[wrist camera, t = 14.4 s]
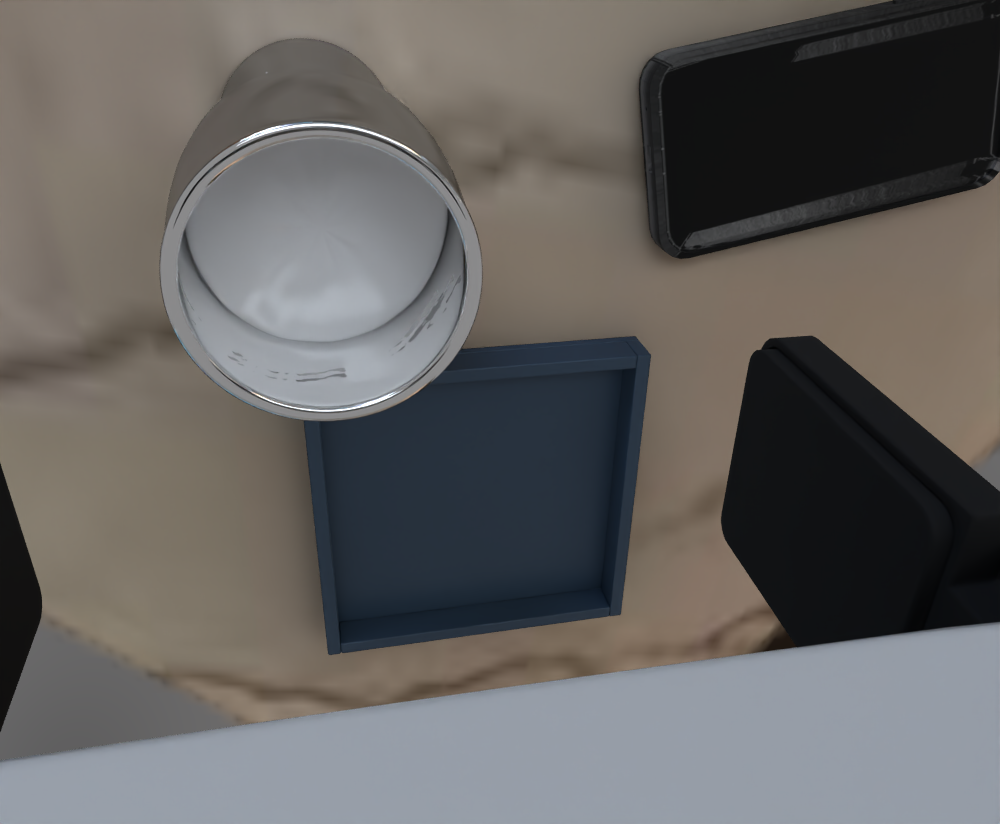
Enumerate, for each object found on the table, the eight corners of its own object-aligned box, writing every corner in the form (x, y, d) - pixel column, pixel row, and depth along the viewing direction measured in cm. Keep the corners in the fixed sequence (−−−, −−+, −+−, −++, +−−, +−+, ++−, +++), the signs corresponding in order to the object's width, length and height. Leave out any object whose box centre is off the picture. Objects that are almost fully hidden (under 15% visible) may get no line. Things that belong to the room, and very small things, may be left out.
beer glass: (432, 65, 31) (541, 173, 18) (375, 249, 33) (434, 457, 21) (229, -10, 28) (185, 54, 15) (185, 195, 31) (119, 394, 18)
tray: (635, 335, 38) (651, 354, 36) (608, 589, 45) (621, 615, 43) (298, 360, 35) (299, 382, 33) (326, 627, 42) (328, 655, 40)
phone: (1002, 182, 36) (661, 265, 35) (983, 175, 37) (651, 255, 36) (1032, -27, 32) (647, 57, 31) (1010, -29, 33) (636, 52, 32)
